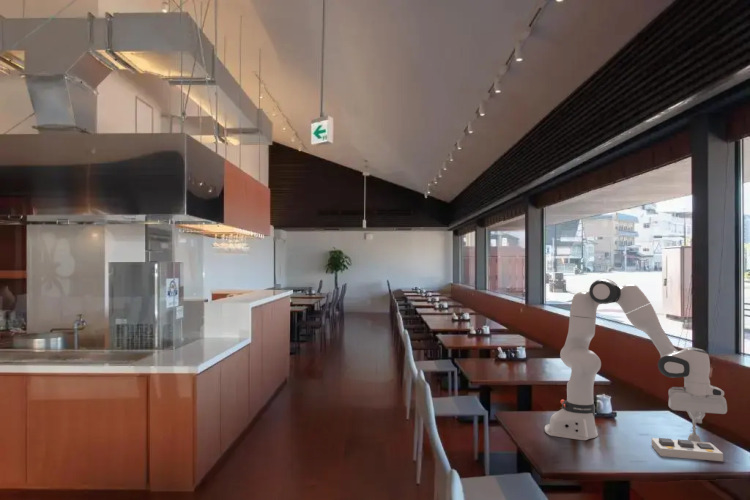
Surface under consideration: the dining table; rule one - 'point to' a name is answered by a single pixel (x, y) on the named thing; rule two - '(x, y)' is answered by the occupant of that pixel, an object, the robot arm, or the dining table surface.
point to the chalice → (694, 429)
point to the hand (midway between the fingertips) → (697, 422)
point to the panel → (687, 451)
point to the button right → (705, 446)
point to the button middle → (685, 443)
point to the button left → (666, 442)
